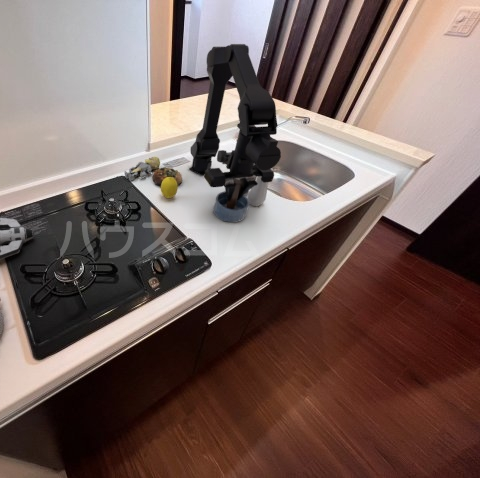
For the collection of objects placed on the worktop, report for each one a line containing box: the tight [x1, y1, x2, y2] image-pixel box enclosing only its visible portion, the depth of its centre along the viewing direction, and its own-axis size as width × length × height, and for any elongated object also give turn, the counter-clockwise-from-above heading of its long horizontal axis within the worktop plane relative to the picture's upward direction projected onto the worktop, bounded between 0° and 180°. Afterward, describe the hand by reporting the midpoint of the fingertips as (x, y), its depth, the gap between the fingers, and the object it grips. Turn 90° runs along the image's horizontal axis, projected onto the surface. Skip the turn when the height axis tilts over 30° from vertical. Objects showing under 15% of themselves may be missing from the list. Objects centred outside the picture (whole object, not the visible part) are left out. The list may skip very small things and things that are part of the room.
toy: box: [124, 156, 161, 182], centre depth 97 cm, size 8×5×15 cm
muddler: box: [224, 179, 242, 210], centre depth 77 cm, size 4×4×10 cm
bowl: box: [213, 190, 250, 223], centre depth 81 cm, size 10×10×5 cm
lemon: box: [160, 177, 179, 199], centre depth 85 cm, size 6×6×8 cm
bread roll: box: [152, 166, 183, 187], centre depth 94 cm, size 11×11×5 cm
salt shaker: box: [247, 168, 274, 207], centre depth 82 cm, size 6×6×13 cm
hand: (232, 200), depth 78 cm, fingers closed on muddler, 2 cm apart
